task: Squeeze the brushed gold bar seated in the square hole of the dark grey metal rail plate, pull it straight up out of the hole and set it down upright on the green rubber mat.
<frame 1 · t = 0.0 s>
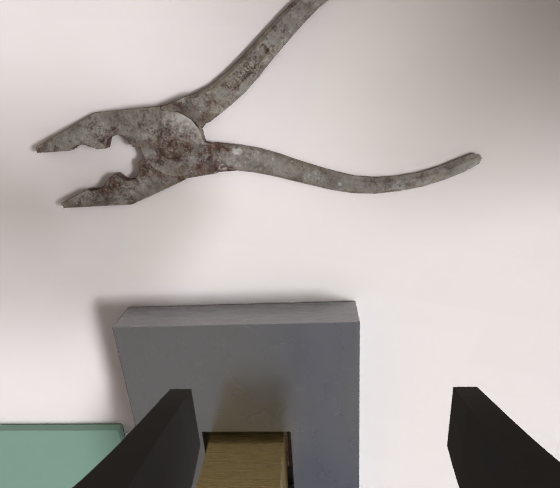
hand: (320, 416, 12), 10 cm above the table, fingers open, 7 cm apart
green mat: (63, 483, 28), on the table
rail plate: (253, 436, 25), on the table
pliers: (267, 145, 20), on the table
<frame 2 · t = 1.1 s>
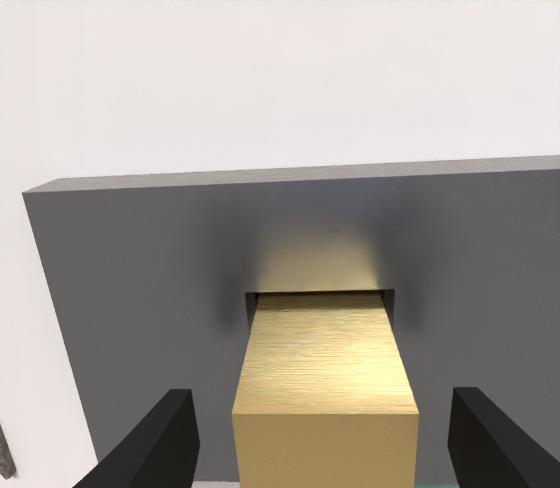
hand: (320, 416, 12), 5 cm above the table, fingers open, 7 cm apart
rail plate: (319, 322, 16), on the table
brushed gold bar: (321, 381, 13), in the rail plate
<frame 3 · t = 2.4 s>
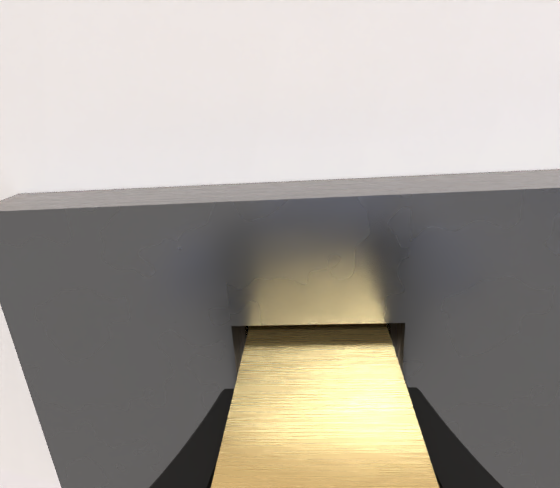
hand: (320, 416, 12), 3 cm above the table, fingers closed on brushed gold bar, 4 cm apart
rail plate: (317, 354, 14), on the table
brushed gold bar: (320, 433, 11), in the rail plate, touching gripper
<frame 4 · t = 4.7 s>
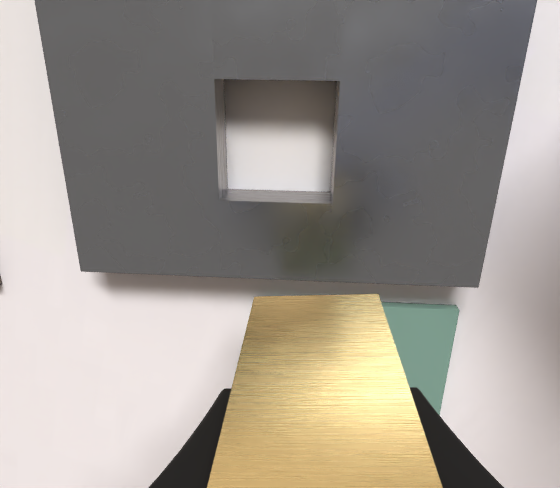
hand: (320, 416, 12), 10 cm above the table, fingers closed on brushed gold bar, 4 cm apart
green mat: (348, 381, 23), on the table
rail plate: (279, 137, 19), on the table
brushed gold bar: (319, 425, 11), point 10 cm above the table, touching gripper
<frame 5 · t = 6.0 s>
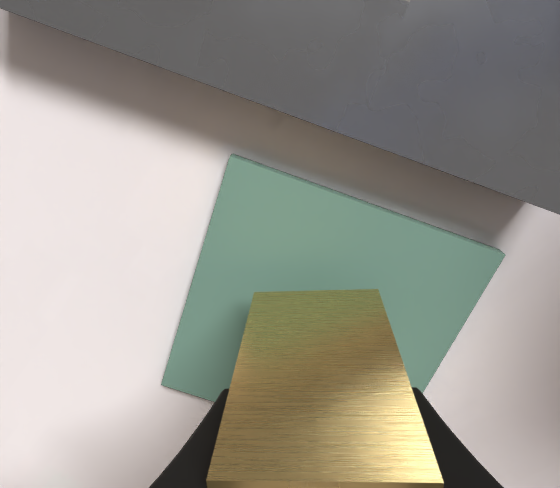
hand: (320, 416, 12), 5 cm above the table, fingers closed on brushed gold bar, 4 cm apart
green mat: (317, 318, 16), on the table
brushed gold bar: (319, 419, 11), point 6 cm above the table, touching gripper
when the fingers open (4 cm above the table, at t = 7.0 s): brushed gold bar stays where it is, resting on green mat.
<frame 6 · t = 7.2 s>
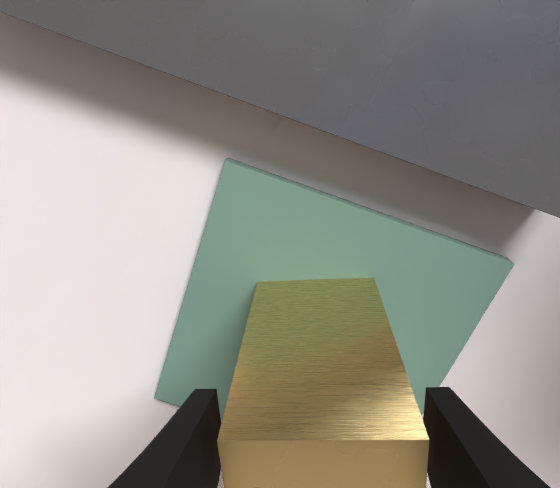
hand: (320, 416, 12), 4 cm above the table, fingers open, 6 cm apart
green mat: (316, 329, 16), on the table
brushed gold bar: (319, 397, 12), on the green mat
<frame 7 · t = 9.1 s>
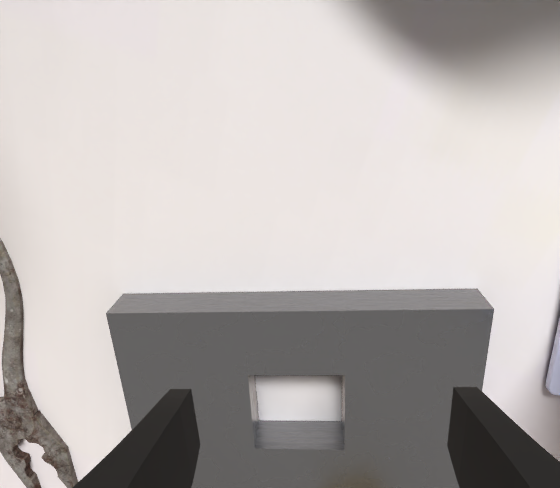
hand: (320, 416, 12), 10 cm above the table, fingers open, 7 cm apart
rail plate: (298, 387, 24), on the table
pliers: (9, 351, 25), on the table
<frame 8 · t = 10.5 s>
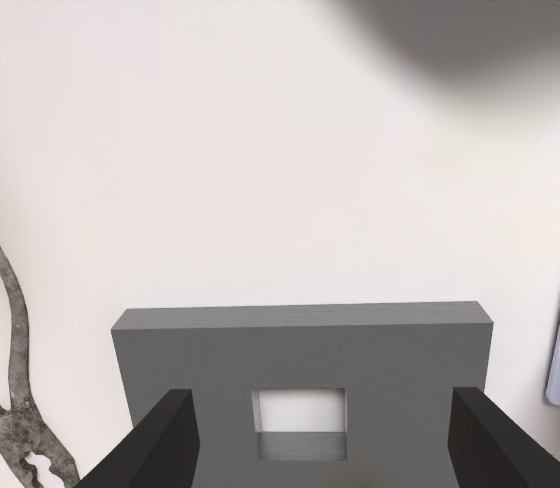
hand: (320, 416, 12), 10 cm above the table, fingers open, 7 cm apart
rail plate: (301, 399, 24), on the table
pliers: (15, 365, 25), on the table
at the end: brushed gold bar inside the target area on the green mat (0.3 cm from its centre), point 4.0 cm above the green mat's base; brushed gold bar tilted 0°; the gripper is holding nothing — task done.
